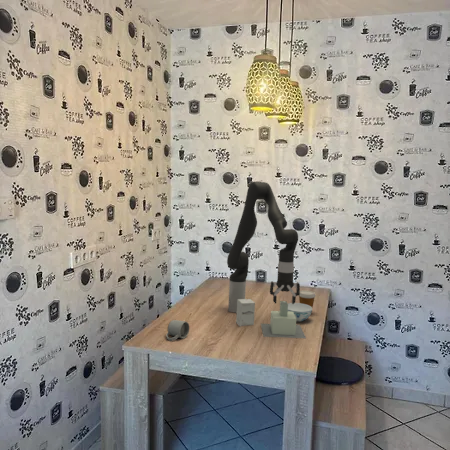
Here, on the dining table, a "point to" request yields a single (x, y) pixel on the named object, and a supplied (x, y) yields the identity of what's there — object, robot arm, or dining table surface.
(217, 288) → the dining table surface
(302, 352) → the dining table surface
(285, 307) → the sage cover
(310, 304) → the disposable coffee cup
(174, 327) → the ceramic mug
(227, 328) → the dining table surface
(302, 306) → the chinaware
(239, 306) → the supplement box
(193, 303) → the dining table surface
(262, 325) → the grey mat
